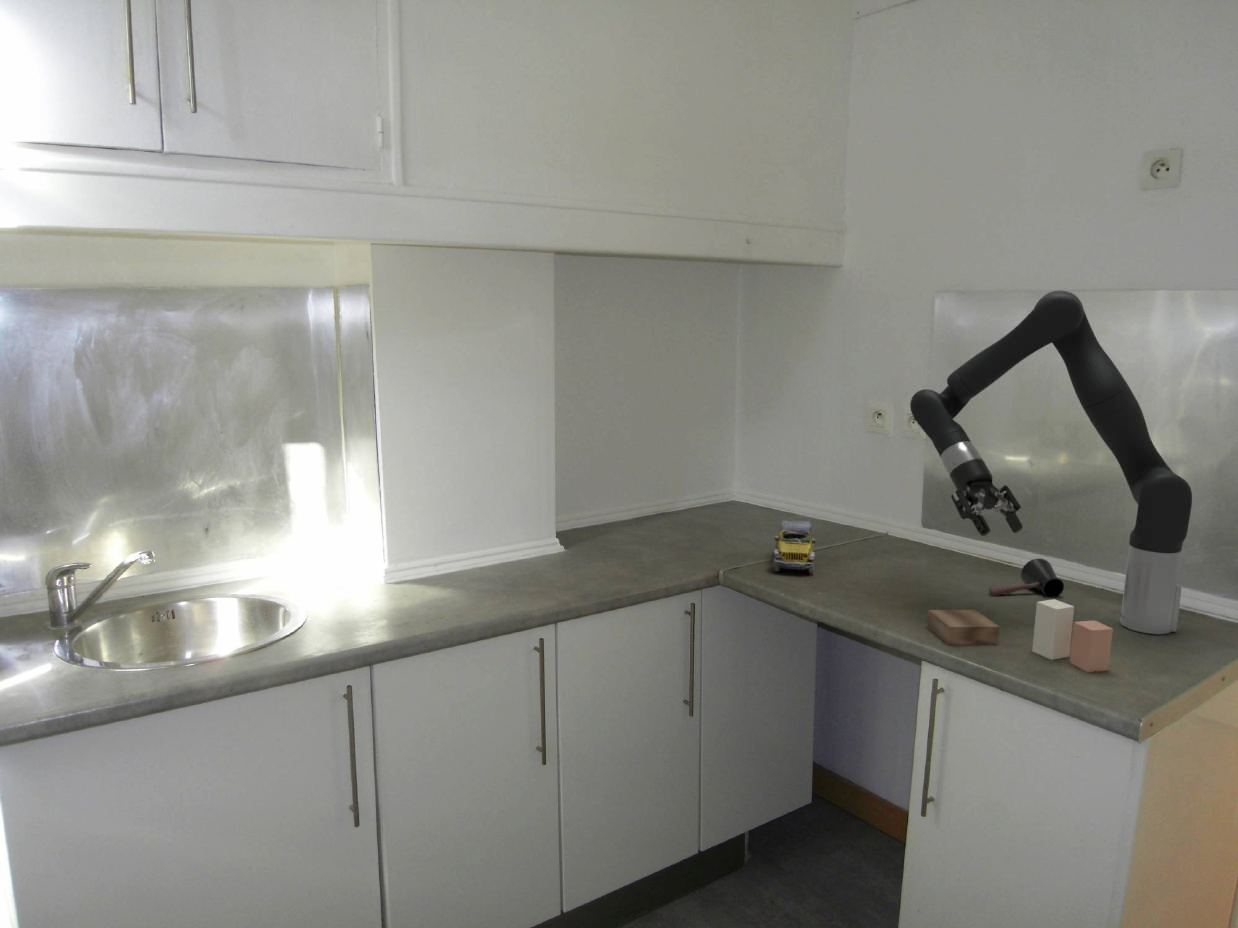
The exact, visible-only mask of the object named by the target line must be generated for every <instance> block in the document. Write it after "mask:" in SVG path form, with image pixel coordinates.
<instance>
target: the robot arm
mask: <svg viewBox="0 0 1238 928" xmlns="http://www.w3.org/2000/svg"><path fill="white" fill-rule="evenodd" d="M1050 344H1052V345H1053V346H1054V347H1055V349H1056V351H1057V353H1058V354H1059V355H1060V357H1061V358H1062V360H1063V363H1064V365H1065V367H1066V371H1067V373H1068V375H1069V378H1070V379H1069V380H1070V381H1071V385H1072V387H1073V390H1074V393H1075V395H1076V397H1077V399H1078V401H1079V403H1080V405H1081V407H1082V409H1083V411H1084V412H1085V414H1086V416H1087V417H1088V420H1089V421H1090V423H1091V424H1092V426H1093V427H1094V428H1095V430H1096V432H1097V433H1098V435H1099V436H1100V438H1101V440H1102V441H1103V442H1104V443H1105V445H1106V446H1107V448H1108V449H1109V450H1110V451H1111V454H1112V455H1114V457H1115V459H1116V460H1117V463H1118V464H1119V466H1120V469H1121V471H1122V474H1123V475H1124V477H1125V481H1126V482H1127V485H1128V487H1129V490H1130V492H1131V495H1132V497H1133V500H1134V501H1135V503H1136V504H1137V512H1136V520H1135V523H1134V524H1135V525H1134V527H1133V528H1134V529H1132V530H1131V532H1130V535H1129V541H1128V542H1129V543H1128V544H1129V545H1128V552H1127V561H1126V568H1125V569H1126V570H1125V579H1124V584H1123V585H1124V587H1123V594H1122V603H1121V604H1122V605H1121V610H1120V611H1121V613H1120V620H1119V622H1120V623H1119V624H1121V626H1123V627H1125V628H1127V629H1128V630H1131V631H1135V632H1140V633H1144V634H1150V635H1152V634H1153V635H1167V634H1170V633H1172V632H1177V627H1178V621H1179V619H1178V618H1179V613H1180V603H1181V597H1182V587H1181V586H1180V585H1178V581H1179V573H1180V572H1179V571H1180V564H1181V558H1182V549H1183V544H1184V541H1185V540H1186V538H1187V534H1188V531H1189V524H1190V518H1191V512H1192V505H1193V504H1192V503H1193V492H1192V488H1191V486H1190V484H1189V483H1188V482H1187V481H1186V480H1185V479H1184V478H1182V476H1180V475H1178V474H1176V473H1175V472H1174V471H1173V470H1172V469H1171V468H1170V467H1169V465H1168V464H1167V463H1166V461H1165V460H1164V458H1163V457H1162V455H1161V454H1160V453H1159V451H1158V450H1157V448H1156V447H1155V445H1154V443H1153V441H1152V438H1151V436H1150V433H1149V429H1148V426H1147V423H1146V422H1147V421H1146V419H1145V416H1144V413H1143V410H1142V407H1141V406H1140V404H1139V402H1138V400H1137V398H1136V396H1135V395H1134V393H1133V390H1132V389H1131V387H1130V386H1129V384H1128V382H1127V381H1126V379H1125V378H1124V377H1123V374H1122V373H1121V372H1120V371H1119V368H1118V367H1117V366H1116V364H1115V363H1114V362H1113V361H1112V359H1111V358H1110V356H1109V355H1108V354H1107V353H1106V352H1105V350H1104V348H1103V347H1102V346H1101V344H1100V343H1099V341H1098V338H1097V337H1096V335H1095V333H1094V330H1093V329H1092V326H1091V324H1090V322H1089V318H1088V317H1087V314H1086V312H1085V309H1084V306H1083V304H1082V301H1081V300H1080V299H1079V297H1078V296H1077V295H1075V294H1074V293H1072V292H1070V291H1067V290H1053V291H1050V292H1048V293H1046V294H1045V295H1043V296H1042V297H1041V298H1040V299H1039V300H1038V301H1037V303H1036V304H1035V306H1034V308H1033V309H1032V310H1031V311H1030V313H1028V314H1027V315H1026V316H1025V318H1024V319H1023V320H1022V321H1020V323H1018V324H1017V326H1015V327H1014V328H1013V329H1012V330H1010V331H1009V332H1008V333H1006V335H1004V336H1003V337H1001V338H999V340H998V341H996V342H994V343H992V344H990V345H989V346H988V347H986V348H985V349H983V350H981V351H980V352H979V353H976V354H975V355H974V356H973V357H971V358H970V359H968V360H967V361H966V362H964V363H963V364H962V365H960V366H959V367H958V368H956V369H955V370H954V371H953V372H952V373H951V374H949V375H948V377H947V379H946V383H947V387H946V388H945V389H943V391H941V392H940V393H939V392H937V391H935V390H933V389H925V388H924V389H920V390H918V391H917V392H915V393H914V394H913V395H912V397H911V399H910V405H909V407H910V412H911V414H912V417H913V419H914V420H915V421H916V423H917V424H918V426H919V427H920V428H921V429H922V431H923V433H925V434H926V435H927V437H928V438H929V439H930V440H931V442H932V444H933V446H934V448H935V450H936V451H937V454H938V456H939V457H940V459H941V461H942V464H943V467H944V468H945V470H946V472H947V474H948V476H949V478H950V480H951V481H952V483H953V485H954V487H955V489H956V490H955V492H953V493H952V494H951V495H950V498H951V500H952V503H953V504H954V506H955V508H956V510H957V512H958V515H959V516H960V518H961V519H962V520H966V519H968V520H969V521H970V522H972V523H973V525H974V526H975V529H976V531H977V533H979V534H980V536H981V537H983V536H987V535H988V534H989V533H991V528H990V526H989V524H988V523H987V521H986V519H985V517H984V516H983V514H982V511H984V510H992V511H993V512H994V513H999V514H1000V515H1002V516H1003V517H1005V518H1004V519H1005V521H1006V522H1007V525H1008V526H1009V528H1010V529H1011V531H1012V533H1013V534H1017V533H1018V532H1020V531H1021V530H1022V529H1023V523H1022V522H1021V520H1020V519H1019V517H1018V515H1017V514H1016V512H1017V513H1018V511H1020V510H1021V509H1022V506H1021V504H1020V503H1019V501H1018V500H1017V498H1016V497H1015V496H1014V494H1013V492H1012V491H1011V490H1010V487H1008V486H1007V485H1005V484H1004V485H1003V486H1001V487H999V488H997V487H996V486H995V485H994V484H993V474H992V473H991V471H990V469H989V468H988V466H987V464H986V463H985V461H984V458H983V457H982V455H981V453H979V451H978V449H977V448H976V447H975V445H973V443H972V441H971V440H970V438H969V436H968V434H967V432H966V431H965V429H964V428H963V427H962V425H961V424H959V423H958V422H957V421H955V418H956V417H957V416H958V415H959V414H960V413H961V411H962V410H963V409H964V408H965V407H966V406H967V404H968V403H969V402H970V401H971V400H972V399H973V398H974V397H976V396H977V395H978V394H980V393H982V392H983V391H984V390H985V389H987V388H989V386H991V385H992V384H993V383H995V382H996V381H997V380H999V379H1000V378H1001V377H1003V376H1004V375H1006V373H1008V372H1009V371H1010V370H1012V369H1013V368H1014V367H1015V366H1017V365H1018V364H1019V363H1021V362H1022V361H1023V360H1025V359H1026V358H1028V357H1029V356H1031V355H1032V354H1034V353H1036V352H1037V351H1039V350H1041V349H1043V348H1044V347H1046V346H1048V345H1050ZM998 503H999V504H998ZM1005 509H1006V510H1005ZM981 514H982V515H981Z"/></svg>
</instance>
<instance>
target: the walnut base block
mask: <svg viewBox="0 0 1238 928" xmlns="http://www.w3.org/2000/svg"><path fill="white" fill-rule="evenodd" d="M926 625H927V628H928V629H929V630H930V631H931V632H932V633H934V634H935V635H936V636H937V637H939V639H941V640H942V641H943V642H944V643H946V645H948V646H954V645H955V646H957V645H958V646H966V645H967V646H968V645H970V646H973V645H978V646H979V645H998V643H999V635H1000V634H999V633H1000V626H999V625H998V624H997V623H995V622H993V621H992V620H990V619H989V618H987V617H986V615H983V614H982V613H981V612H979V611H978V610H977V609H928V613H927V624H926Z"/></svg>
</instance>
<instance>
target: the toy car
mask: <svg viewBox="0 0 1238 928" xmlns="http://www.w3.org/2000/svg"><path fill="white" fill-rule="evenodd" d="M812 531H813V530H812V523H811V522H810V521H804V520H803V521H802V520H782V521H781V523H780V530H779V534H778V536H776V535H775V536H773V537H774V541H775V545H776V546H775V549H773V550H774V551H773V560H772V561H773V562H772V563H773V564H772V566H773V567H772V568H773V572H774V573H780V572H781V568H782V569H784V570H785V569H786V570H798V571H799V572H800V571H805V570H806V569H807V573H808V575H814V571H815V557H816V555H815V544H816V541H817V540H816V539H815V538H813V532H812Z"/></svg>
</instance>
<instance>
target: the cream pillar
mask: <svg viewBox="0 0 1238 928" xmlns="http://www.w3.org/2000/svg"><path fill="white" fill-rule="evenodd" d="M1074 613H1075V606H1074V605H1071V604H1068V603H1065V602H1063V601H1060V600H1057V599H1054V598H1053V599H1047V600H1040V601H1036V610H1035V619H1034V628H1033V629H1034V630H1033V639H1032V640H1033V641H1032V650H1031V651H1032V652H1033V653H1034V654H1037V655H1040V656H1042V657H1043V658H1046V659H1048V660H1051V661H1053V660H1058V659H1063V658H1070V653H1071V643H1072V634H1073V624H1074V622H1073V621H1074Z"/></svg>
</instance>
